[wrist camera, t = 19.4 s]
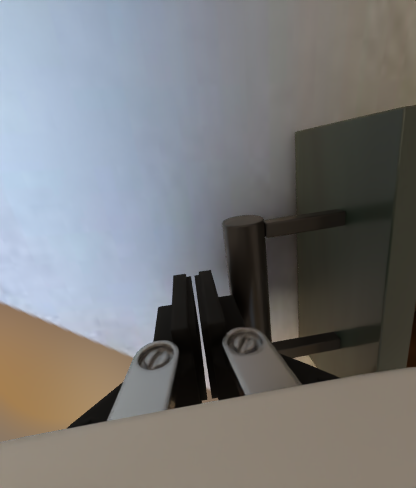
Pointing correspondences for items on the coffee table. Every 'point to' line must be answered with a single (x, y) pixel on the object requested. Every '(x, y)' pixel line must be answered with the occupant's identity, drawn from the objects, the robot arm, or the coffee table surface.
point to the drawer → (342, 247)
